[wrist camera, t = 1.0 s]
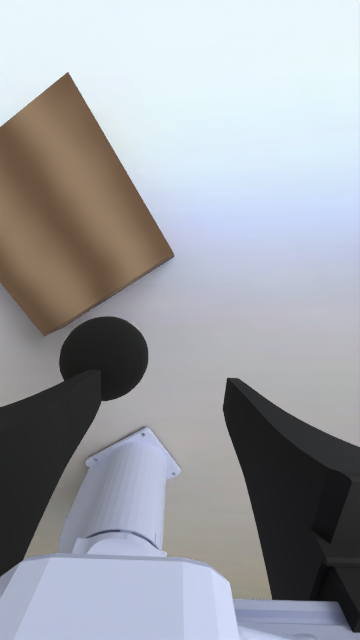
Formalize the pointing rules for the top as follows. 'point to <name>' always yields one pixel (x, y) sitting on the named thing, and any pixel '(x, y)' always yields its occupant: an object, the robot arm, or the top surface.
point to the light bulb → (106, 354)
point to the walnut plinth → (68, 212)
